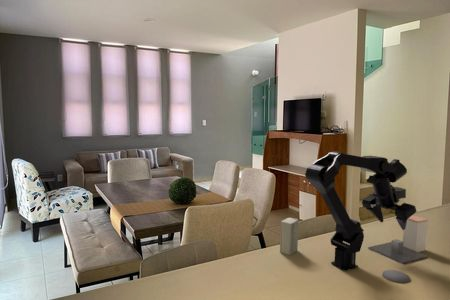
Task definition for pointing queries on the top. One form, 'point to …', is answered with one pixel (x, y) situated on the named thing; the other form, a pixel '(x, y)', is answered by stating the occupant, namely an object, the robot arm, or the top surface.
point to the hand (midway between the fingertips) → (392, 225)
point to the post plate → (397, 252)
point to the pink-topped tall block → (415, 233)
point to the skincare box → (289, 236)
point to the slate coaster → (396, 276)
